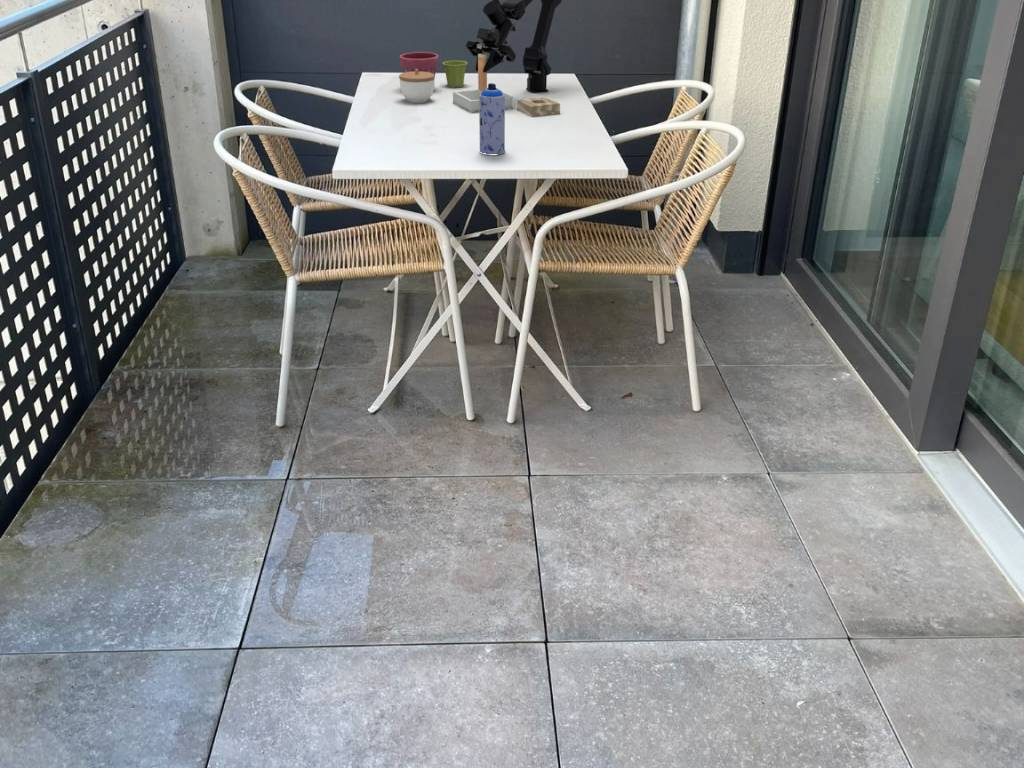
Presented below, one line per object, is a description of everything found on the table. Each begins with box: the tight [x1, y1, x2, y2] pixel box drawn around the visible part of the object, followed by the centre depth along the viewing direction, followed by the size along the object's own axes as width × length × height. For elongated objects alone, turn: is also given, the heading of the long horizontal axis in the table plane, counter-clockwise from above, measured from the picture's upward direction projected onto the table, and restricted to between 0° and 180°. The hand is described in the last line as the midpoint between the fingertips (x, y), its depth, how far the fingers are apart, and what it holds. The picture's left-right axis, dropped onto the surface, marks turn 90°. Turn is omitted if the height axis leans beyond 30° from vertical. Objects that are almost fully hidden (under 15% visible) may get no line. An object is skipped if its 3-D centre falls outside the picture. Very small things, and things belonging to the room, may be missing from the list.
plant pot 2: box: [442, 60, 468, 88], centre depth 384 cm, size 9×9×9 cm
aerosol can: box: [478, 83, 506, 155], centre depth 298 cm, size 8×8×20 cm
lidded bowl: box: [398, 69, 436, 104], centre depth 361 cm, size 13×13×11 cm
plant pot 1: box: [399, 51, 440, 76], centre depth 376 cm, size 14×14×13 cm
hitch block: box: [516, 96, 561, 118], centre depth 349 cm, size 11×11×4 cm
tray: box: [452, 89, 514, 113], centre depth 356 cm, size 16×16×4 cm
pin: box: [477, 53, 488, 91], centre depth 352 cm, size 3×3×12 cm
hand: (480, 71), depth 350 cm, fingers closed on pin, 3 cm apart
